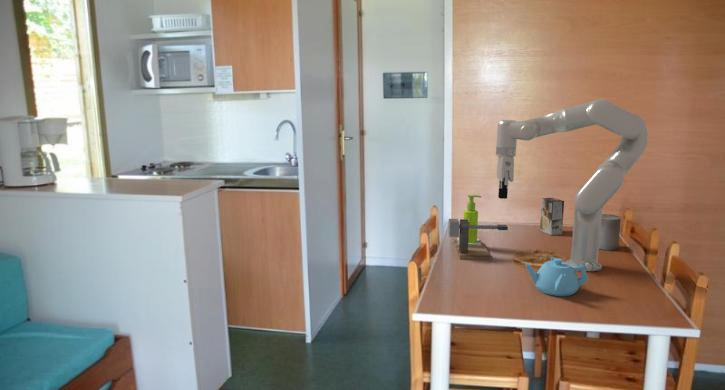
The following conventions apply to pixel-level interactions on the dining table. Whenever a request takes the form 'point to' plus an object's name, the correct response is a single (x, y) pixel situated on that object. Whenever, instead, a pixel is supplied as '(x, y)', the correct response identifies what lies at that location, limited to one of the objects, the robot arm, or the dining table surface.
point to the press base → (469, 245)
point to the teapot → (558, 277)
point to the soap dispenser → (472, 218)
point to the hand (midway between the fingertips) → (502, 198)
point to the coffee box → (552, 216)
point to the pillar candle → (609, 232)
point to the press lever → (454, 227)
